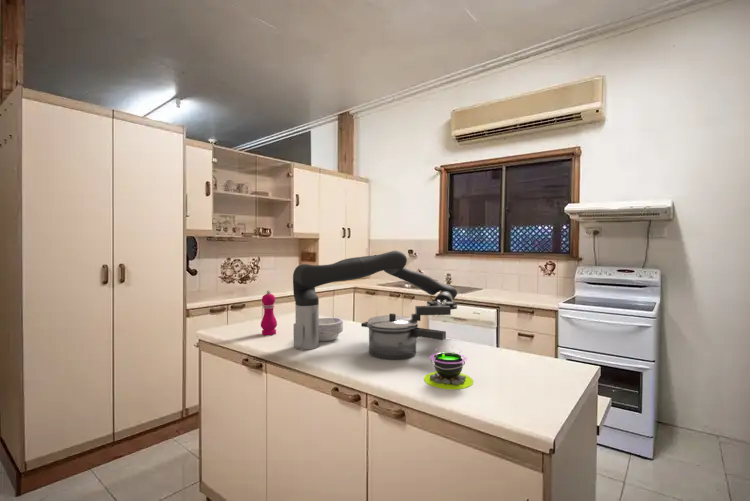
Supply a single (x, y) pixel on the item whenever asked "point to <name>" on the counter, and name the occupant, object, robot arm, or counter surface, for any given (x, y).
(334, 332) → the paper bowls
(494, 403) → the counter surface
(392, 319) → the lid
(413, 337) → the cooker pot
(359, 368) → the counter surface
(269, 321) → the pepper mill
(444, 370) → the toy cauldron
